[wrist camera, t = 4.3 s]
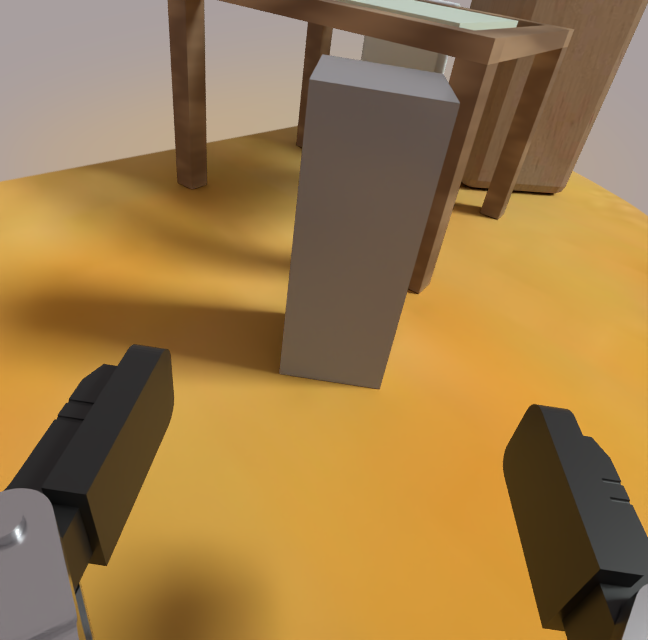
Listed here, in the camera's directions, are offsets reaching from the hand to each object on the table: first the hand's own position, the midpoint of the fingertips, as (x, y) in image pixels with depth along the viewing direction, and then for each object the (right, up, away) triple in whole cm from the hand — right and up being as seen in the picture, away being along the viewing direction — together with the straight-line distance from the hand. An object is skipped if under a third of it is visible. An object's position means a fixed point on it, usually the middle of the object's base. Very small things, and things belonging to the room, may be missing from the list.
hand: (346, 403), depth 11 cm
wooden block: (+16, +16, +36) cm, 43 cm away
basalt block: (0, 0, +12) cm, 12 cm away
